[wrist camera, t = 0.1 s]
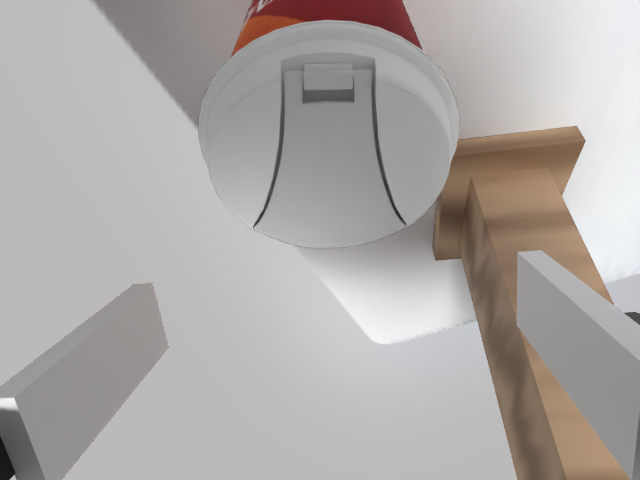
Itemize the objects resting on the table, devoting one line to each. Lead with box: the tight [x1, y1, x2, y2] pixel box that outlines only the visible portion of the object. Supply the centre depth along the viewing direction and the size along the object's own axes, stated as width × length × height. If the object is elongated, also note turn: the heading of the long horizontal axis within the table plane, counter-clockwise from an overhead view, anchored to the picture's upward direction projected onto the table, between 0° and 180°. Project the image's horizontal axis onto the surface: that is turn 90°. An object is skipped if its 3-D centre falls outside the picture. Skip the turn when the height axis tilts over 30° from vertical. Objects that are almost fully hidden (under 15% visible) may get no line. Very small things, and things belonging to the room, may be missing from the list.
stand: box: [433, 126, 630, 480], centre depth 23 cm, size 12×8×30 cm
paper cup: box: [198, 0, 459, 248], centre depth 16 cm, size 8×8×14 cm
